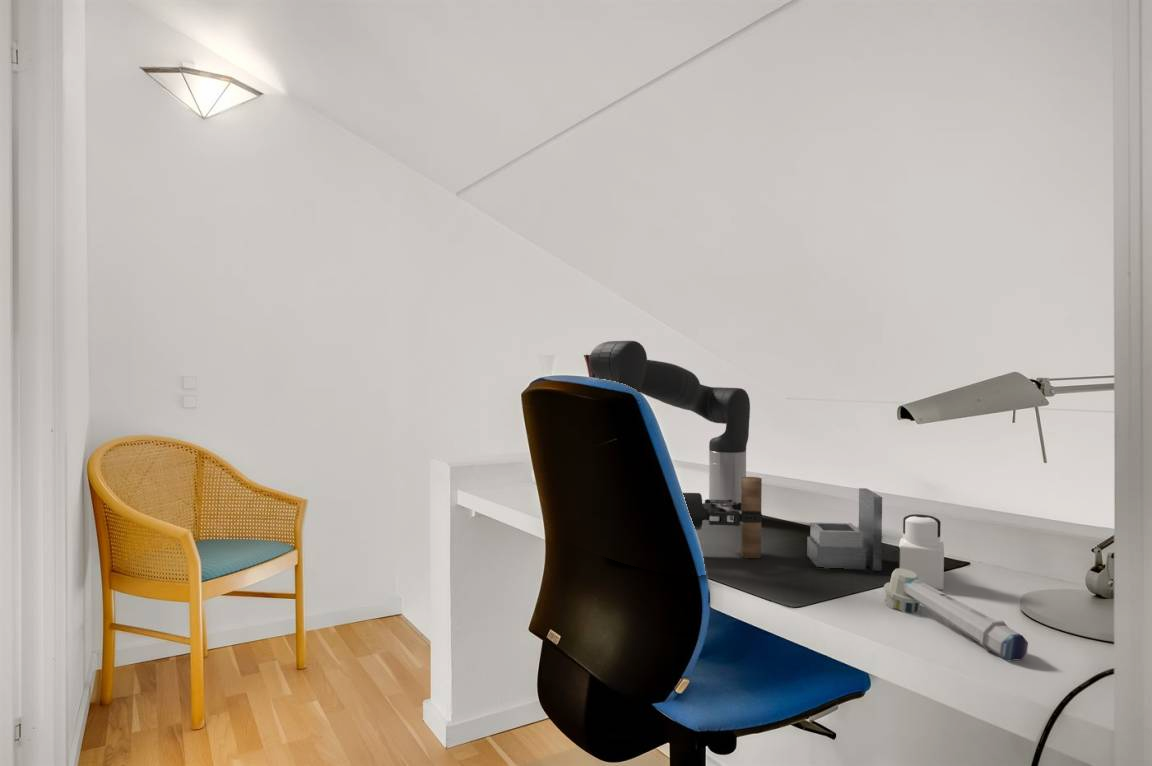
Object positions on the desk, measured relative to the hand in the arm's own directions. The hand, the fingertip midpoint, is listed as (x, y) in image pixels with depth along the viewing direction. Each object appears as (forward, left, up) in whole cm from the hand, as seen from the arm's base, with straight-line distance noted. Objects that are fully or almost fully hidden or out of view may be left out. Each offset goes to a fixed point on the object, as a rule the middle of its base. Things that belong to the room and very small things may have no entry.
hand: (758, 512), depth 149 cm
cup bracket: (+3, +16, -9) cm, 18 cm away
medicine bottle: (+15, +26, -9) cm, 32 cm away
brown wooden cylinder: (0, -2, -9) cm, 9 cm away
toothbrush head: (+38, +22, -10) cm, 45 cm away
